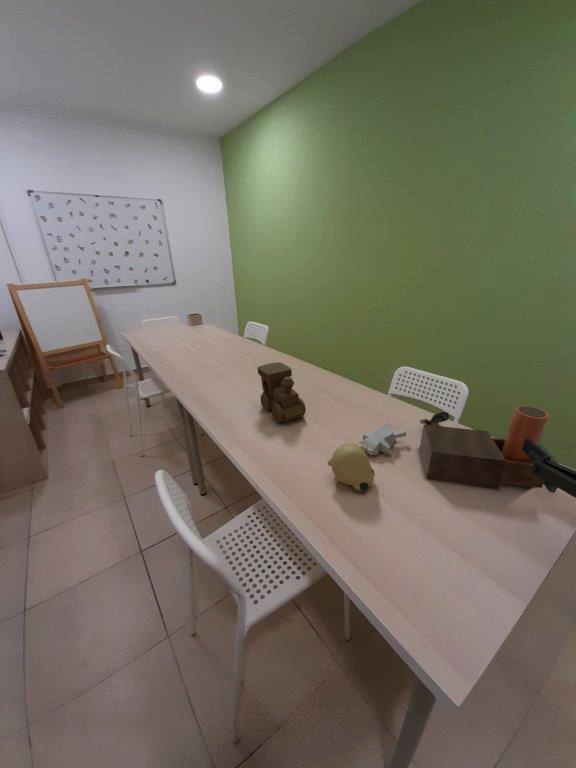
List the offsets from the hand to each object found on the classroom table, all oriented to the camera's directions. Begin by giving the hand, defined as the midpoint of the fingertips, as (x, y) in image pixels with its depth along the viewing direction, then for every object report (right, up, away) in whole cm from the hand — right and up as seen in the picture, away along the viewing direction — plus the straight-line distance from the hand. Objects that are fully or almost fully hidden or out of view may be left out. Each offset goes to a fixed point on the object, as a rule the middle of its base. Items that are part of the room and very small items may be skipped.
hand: (558, 445), depth 64 cm
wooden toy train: (-60, +2, +50) cm, 78 cm away
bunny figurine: (-29, -6, +29) cm, 42 cm away
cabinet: (-12, -10, +19) cm, 25 cm away
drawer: (+1, -10, +16) cm, 19 cm away
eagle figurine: (-9, -3, +37) cm, 38 cm away
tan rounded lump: (-41, -13, +15) cm, 46 cm away
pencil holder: (+1, -9, +15) cm, 18 cm away
